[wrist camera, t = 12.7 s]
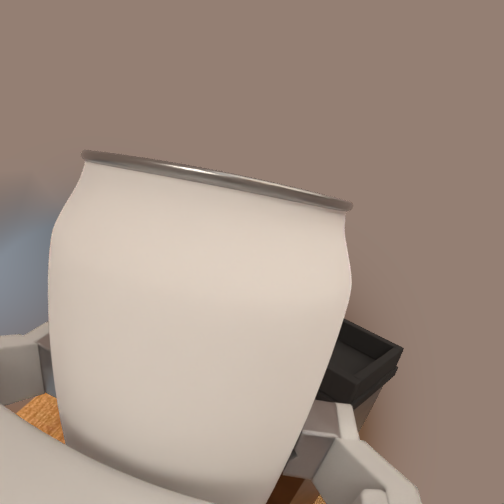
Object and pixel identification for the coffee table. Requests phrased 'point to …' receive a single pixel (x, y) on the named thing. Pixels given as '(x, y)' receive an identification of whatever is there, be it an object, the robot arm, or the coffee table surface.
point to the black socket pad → (358, 366)
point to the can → (192, 321)
